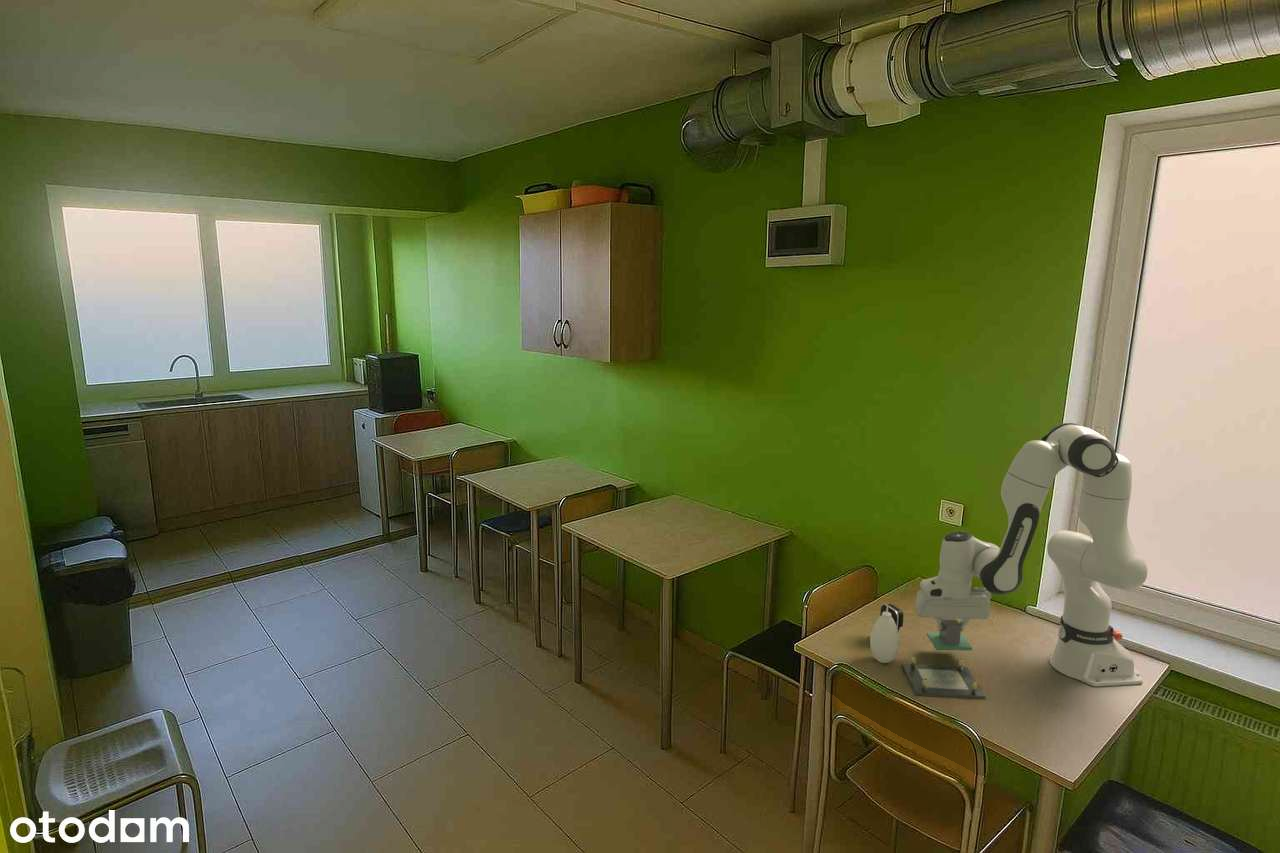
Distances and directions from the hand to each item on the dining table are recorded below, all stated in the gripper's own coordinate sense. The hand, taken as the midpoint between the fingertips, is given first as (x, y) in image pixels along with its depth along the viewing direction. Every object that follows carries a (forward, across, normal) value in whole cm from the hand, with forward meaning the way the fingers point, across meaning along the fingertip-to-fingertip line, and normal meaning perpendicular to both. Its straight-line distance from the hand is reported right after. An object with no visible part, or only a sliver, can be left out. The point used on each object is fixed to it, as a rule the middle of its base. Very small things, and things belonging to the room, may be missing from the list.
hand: (950, 630), depth 204 cm
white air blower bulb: (+9, +20, +4) cm, 22 cm away
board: (+4, 0, 0) cm, 4 cm away
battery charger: (+9, +15, -8) cm, 19 cm away
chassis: (+9, +6, +13) cm, 17 cm away
